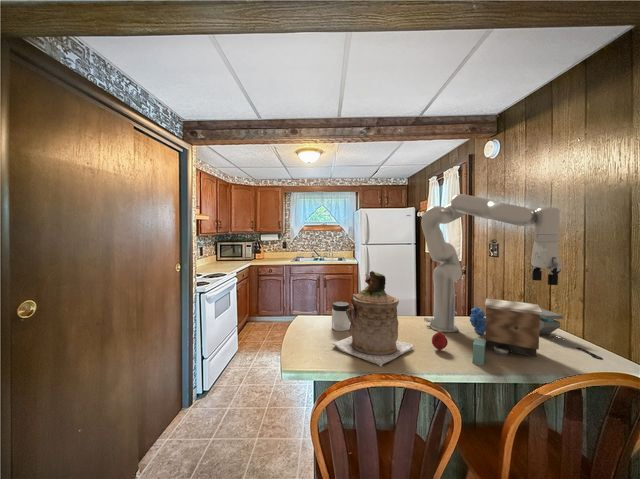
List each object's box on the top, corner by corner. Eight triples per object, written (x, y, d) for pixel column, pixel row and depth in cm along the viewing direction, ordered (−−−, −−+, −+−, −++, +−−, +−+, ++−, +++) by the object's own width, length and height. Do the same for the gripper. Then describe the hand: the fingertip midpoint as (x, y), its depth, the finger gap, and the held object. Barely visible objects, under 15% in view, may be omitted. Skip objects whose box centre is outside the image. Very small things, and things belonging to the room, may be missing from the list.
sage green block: (472, 363, 106) (473, 344, 106) (476, 346, 122) (476, 329, 122) (483, 365, 104) (484, 346, 104) (486, 347, 120) (486, 331, 120)
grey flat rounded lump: (493, 354, 114) (493, 348, 114) (493, 349, 119) (493, 343, 119) (508, 357, 112) (508, 351, 112) (508, 352, 116) (508, 346, 116)
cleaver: (578, 359, 111) (607, 360, 110) (578, 357, 111) (607, 359, 110) (530, 332, 140) (553, 333, 139) (530, 331, 140) (553, 332, 139)
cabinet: (483, 352, 115) (484, 305, 114) (484, 341, 126) (486, 298, 126) (540, 364, 106) (542, 312, 105) (536, 351, 117) (538, 304, 116)
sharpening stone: (505, 322, 155) (506, 301, 154) (520, 321, 155) (520, 301, 155) (545, 339, 130) (546, 315, 130) (561, 339, 130) (563, 315, 130)
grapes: (462, 328, 143) (463, 304, 143) (475, 328, 144) (476, 304, 143) (476, 337, 131) (477, 311, 131) (491, 337, 132) (491, 311, 131)
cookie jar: (416, 349, 118) (418, 270, 117) (381, 369, 101) (383, 276, 100) (366, 333, 136) (367, 264, 134) (329, 347, 118) (330, 269, 117)
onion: (440, 354, 113) (440, 334, 113) (428, 349, 118) (428, 329, 118) (450, 351, 116) (450, 331, 115) (438, 346, 121) (438, 327, 121)
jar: (351, 331, 138) (352, 305, 138) (335, 332, 136) (335, 306, 136) (346, 324, 147) (346, 301, 146) (330, 325, 145) (330, 301, 145)
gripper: (523, 238, 124) (521, 278, 124) (550, 239, 107) (548, 286, 107) (542, 238, 123) (540, 279, 124) (573, 240, 106) (570, 287, 106)
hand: (544, 282), depth 115 cm, fingers open, 9 cm apart
